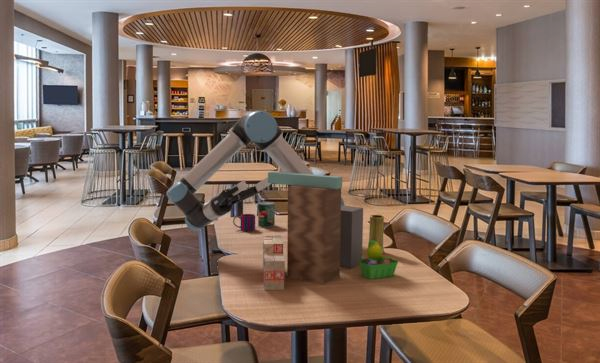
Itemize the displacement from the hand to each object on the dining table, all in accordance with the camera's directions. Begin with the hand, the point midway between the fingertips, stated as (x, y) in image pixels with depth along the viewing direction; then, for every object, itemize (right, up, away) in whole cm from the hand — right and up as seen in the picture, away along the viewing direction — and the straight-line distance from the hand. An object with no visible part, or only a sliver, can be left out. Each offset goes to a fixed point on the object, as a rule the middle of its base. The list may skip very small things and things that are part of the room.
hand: (257, 182), depth 187 cm
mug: (-11, -22, +60) cm, 65 cm away
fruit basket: (+40, -31, -8) cm, 52 cm away
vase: (+44, -27, +21) cm, 56 cm away
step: (+30, -29, +6) cm, 42 cm away
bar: (+16, -1, -13) cm, 20 cm away
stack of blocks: (+6, -32, -14) cm, 35 cm away
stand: (+19, -31, -11) cm, 38 cm away
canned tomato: (-1, -21, +69) cm, 72 cm away
